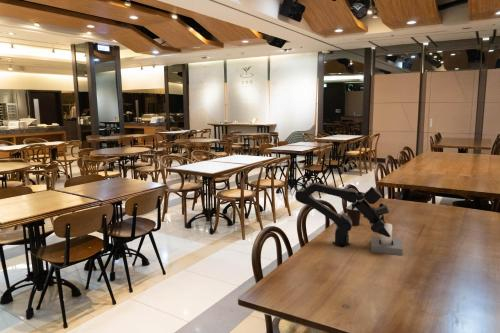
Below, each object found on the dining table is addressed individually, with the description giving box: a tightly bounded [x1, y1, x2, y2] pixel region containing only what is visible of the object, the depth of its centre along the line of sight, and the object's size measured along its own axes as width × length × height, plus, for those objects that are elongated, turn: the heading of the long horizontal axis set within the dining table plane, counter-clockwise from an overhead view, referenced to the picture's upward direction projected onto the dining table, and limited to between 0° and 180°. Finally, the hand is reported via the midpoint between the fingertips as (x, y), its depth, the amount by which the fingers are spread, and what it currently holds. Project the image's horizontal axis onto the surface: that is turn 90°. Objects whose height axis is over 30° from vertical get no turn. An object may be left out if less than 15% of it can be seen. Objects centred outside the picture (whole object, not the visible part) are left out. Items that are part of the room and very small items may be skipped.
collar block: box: [370, 236, 403, 256], centre depth 184 cm, size 14×14×3 cm
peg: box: [380, 222, 393, 245], centre depth 183 cm, size 5×5×12 cm
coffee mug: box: [345, 205, 362, 227], centre depth 222 cm, size 12×9×10 cm
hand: (389, 233), depth 182 cm, fingers open, 9 cm apart
